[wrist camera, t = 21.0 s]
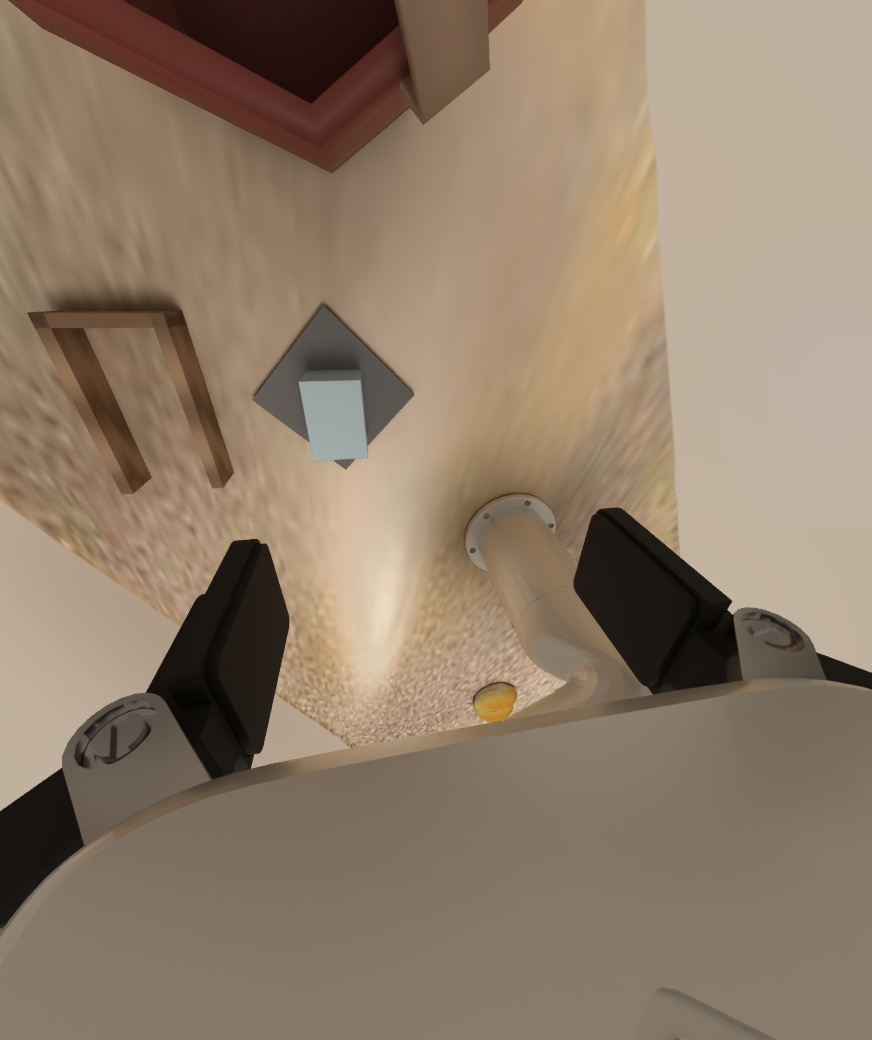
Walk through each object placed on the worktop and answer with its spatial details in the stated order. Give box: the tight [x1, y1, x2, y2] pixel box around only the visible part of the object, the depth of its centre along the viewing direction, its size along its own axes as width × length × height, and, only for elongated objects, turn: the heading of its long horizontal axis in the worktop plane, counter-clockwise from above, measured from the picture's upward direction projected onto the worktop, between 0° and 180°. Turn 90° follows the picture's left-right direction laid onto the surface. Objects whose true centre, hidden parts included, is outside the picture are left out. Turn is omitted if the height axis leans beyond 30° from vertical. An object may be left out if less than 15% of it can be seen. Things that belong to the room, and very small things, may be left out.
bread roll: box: [474, 683, 517, 722], centre depth 69 cm, size 8×9×4 cm
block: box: [299, 370, 368, 461], centre depth 34 cm, size 7×5×5 cm
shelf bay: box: [28, 311, 234, 494], centre depth 32 cm, size 15×9×4 cm, turn 179°
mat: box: [253, 305, 414, 469], centre depth 36 cm, size 11×11×1 cm
